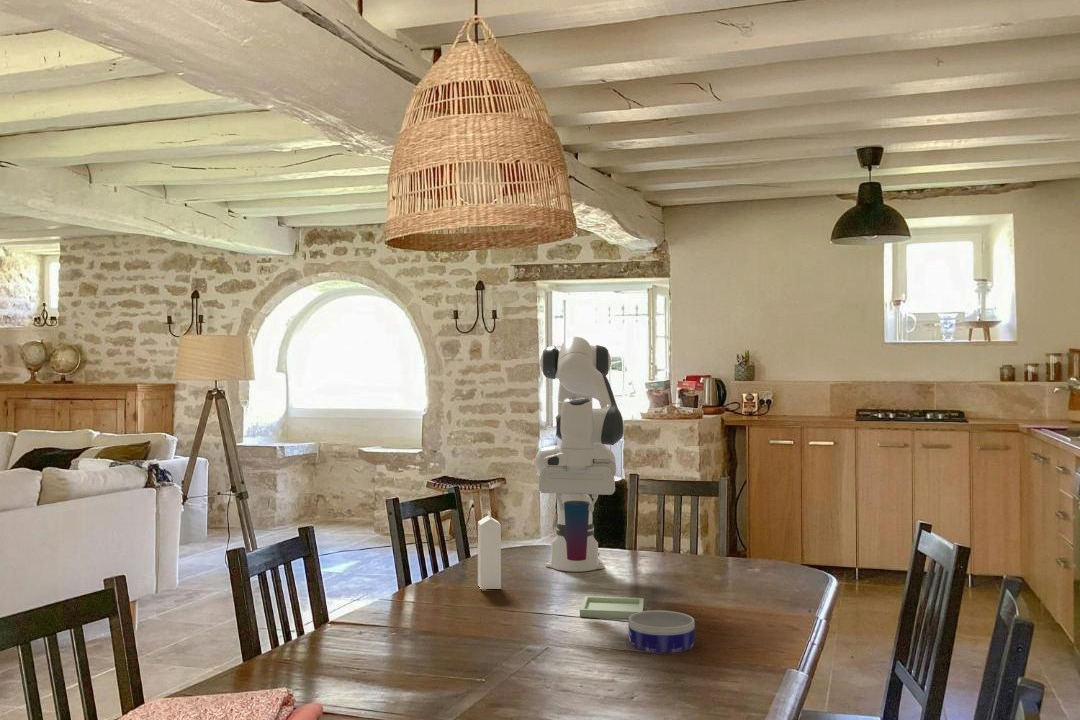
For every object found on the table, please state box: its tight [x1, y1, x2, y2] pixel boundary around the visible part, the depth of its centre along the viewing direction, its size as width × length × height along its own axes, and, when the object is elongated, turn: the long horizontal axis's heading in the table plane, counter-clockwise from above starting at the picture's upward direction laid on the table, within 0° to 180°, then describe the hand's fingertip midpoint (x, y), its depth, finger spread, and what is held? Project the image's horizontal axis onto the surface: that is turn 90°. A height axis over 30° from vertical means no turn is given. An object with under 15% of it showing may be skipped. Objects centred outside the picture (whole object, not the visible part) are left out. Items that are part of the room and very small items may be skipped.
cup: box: [564, 501, 590, 561], centre depth 245 cm, size 7×7×15 cm
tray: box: [579, 595, 645, 619], centre depth 243 cm, size 14×16×2 cm
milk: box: [477, 510, 502, 590], centre depth 268 cm, size 6×6×22 cm
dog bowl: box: [627, 609, 696, 654], centre depth 215 cm, size 15×15×6 cm
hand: (576, 510), depth 245 cm, fingers closed on cup, 6 cm apart
